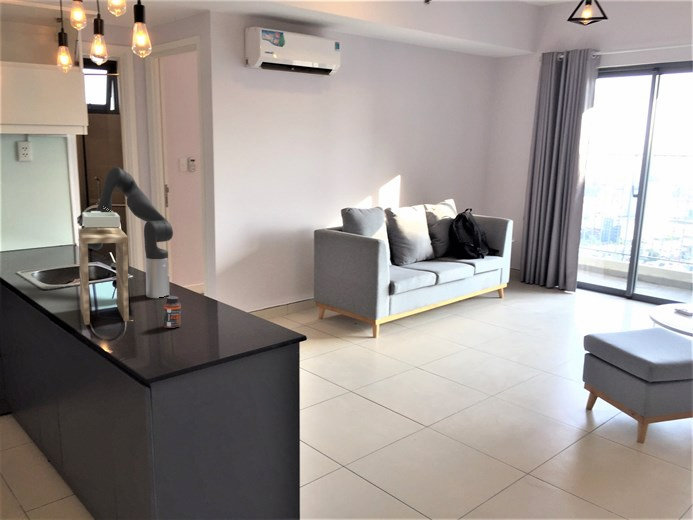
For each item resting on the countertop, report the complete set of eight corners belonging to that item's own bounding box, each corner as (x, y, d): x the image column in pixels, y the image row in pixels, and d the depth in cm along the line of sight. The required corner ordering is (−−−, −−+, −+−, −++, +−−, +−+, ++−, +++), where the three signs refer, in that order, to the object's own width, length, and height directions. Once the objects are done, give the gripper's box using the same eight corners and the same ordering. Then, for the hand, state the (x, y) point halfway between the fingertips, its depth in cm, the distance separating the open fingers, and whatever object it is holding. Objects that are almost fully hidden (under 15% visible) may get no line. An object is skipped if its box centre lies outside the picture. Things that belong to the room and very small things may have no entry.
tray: (110, 215, 245) (110, 206, 244) (120, 227, 217) (119, 216, 216) (79, 215, 239) (79, 206, 238) (85, 227, 211) (84, 216, 211)
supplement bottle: (171, 330, 209) (171, 300, 207) (160, 327, 212) (160, 297, 210) (184, 326, 214) (184, 297, 212) (172, 323, 217) (172, 294, 215)
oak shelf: (120, 305, 237) (119, 228, 231) (129, 321, 216) (127, 237, 210) (80, 308, 230) (78, 228, 224) (85, 325, 209) (82, 237, 203)
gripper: (74, 219, 249) (76, 203, 235) (110, 219, 256) (114, 203, 241) (75, 235, 247) (77, 220, 233) (111, 234, 254) (115, 220, 239)
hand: (96, 211), depth 237 cm, fingers closed on tray, 4 cm apart
